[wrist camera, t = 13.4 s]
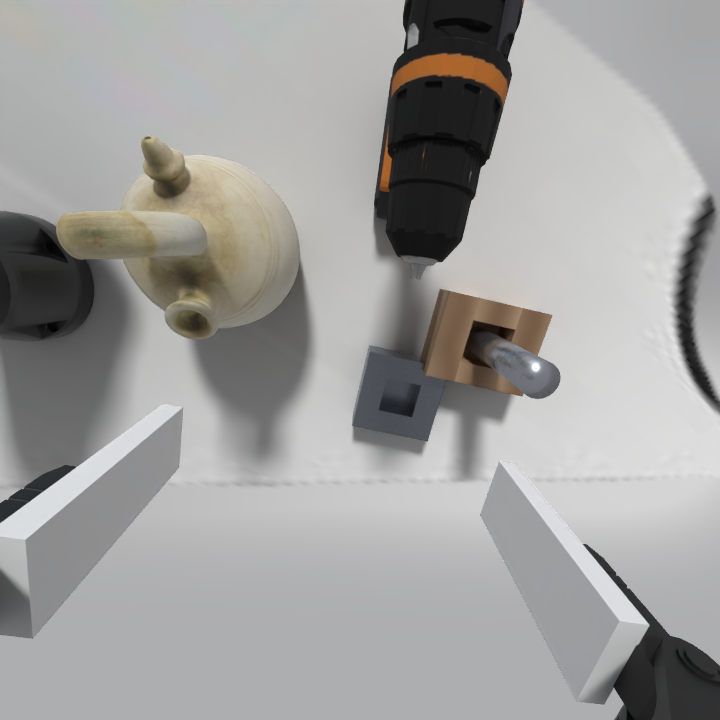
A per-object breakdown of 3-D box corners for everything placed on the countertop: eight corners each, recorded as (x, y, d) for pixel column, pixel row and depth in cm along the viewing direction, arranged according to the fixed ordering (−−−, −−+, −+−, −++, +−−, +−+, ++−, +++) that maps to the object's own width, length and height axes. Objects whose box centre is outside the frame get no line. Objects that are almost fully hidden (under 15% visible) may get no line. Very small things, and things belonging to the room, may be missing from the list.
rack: (418, 364, 45) (425, 375, 40) (440, 288, 42) (450, 291, 37) (505, 383, 45) (522, 396, 40) (531, 310, 43) (552, 315, 38)
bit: (460, 348, 43) (514, 394, 28) (468, 324, 42) (528, 357, 27) (484, 354, 43) (551, 402, 28) (492, 330, 42) (566, 365, 27)
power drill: (422, 280, 42) (504, 292, 18) (363, 271, 42) (365, 272, 17) (459, 77, 36) (650, -308, 12) (391, 66, 36) (450, -347, 12)
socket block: (352, 414, 46) (352, 425, 43) (369, 345, 44) (369, 351, 41) (422, 429, 47) (427, 441, 44) (442, 361, 44) (449, 369, 41)
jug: (297, 328, 44) (217, 400, 19) (178, 298, 43) (-63, 332, 18) (324, 205, 40) (266, 101, 16) (194, 168, 39) (-83, -2, 15)
